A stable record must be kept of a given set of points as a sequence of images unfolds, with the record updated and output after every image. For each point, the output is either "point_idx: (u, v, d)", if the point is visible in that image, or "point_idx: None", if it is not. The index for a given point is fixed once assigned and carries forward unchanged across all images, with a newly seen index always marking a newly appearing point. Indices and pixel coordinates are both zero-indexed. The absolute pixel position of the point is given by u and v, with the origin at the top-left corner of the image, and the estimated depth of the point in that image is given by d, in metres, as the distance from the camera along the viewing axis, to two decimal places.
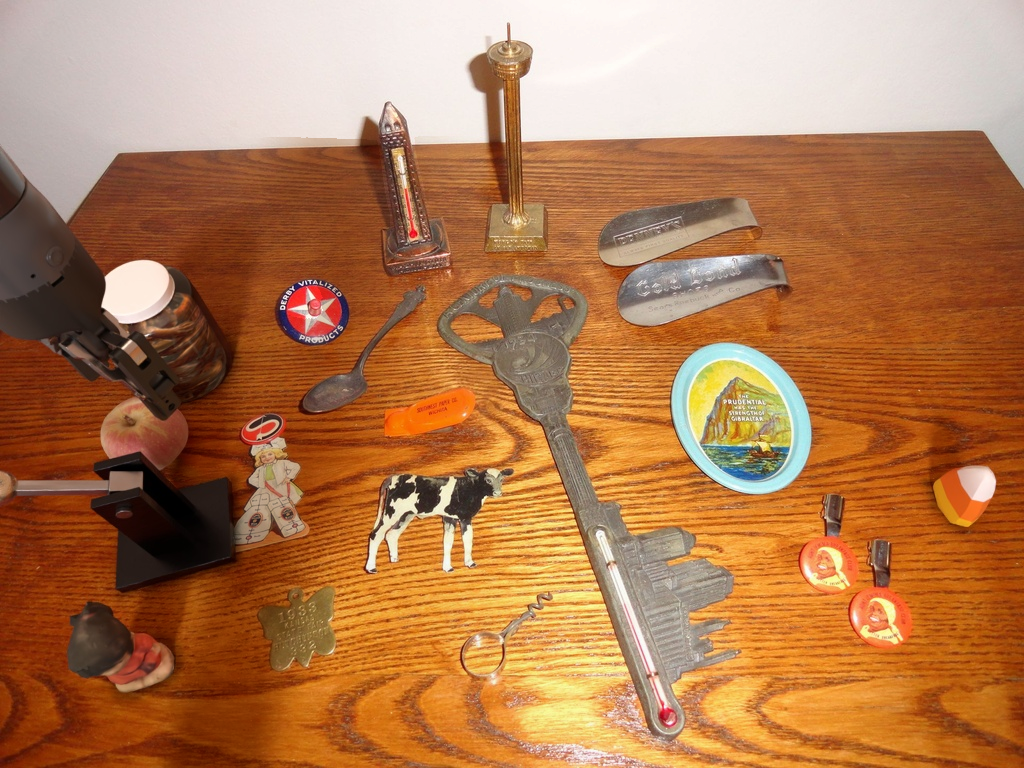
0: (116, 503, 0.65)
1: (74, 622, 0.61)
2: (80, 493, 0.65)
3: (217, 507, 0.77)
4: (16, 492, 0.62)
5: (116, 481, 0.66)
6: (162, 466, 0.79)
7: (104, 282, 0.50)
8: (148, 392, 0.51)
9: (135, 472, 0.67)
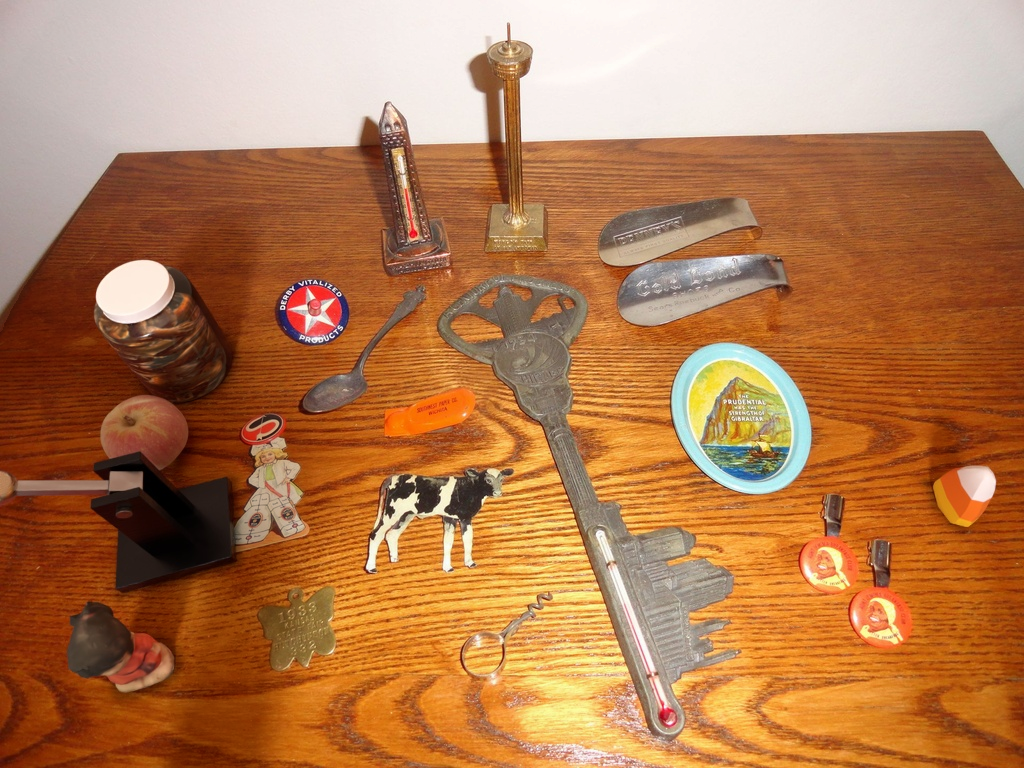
0: (116, 503, 0.65)
1: (74, 622, 0.61)
2: (80, 493, 0.65)
3: (217, 507, 0.77)
4: (16, 492, 0.62)
5: (116, 481, 0.66)
6: (162, 466, 0.79)
7: None
8: None
9: (135, 472, 0.67)
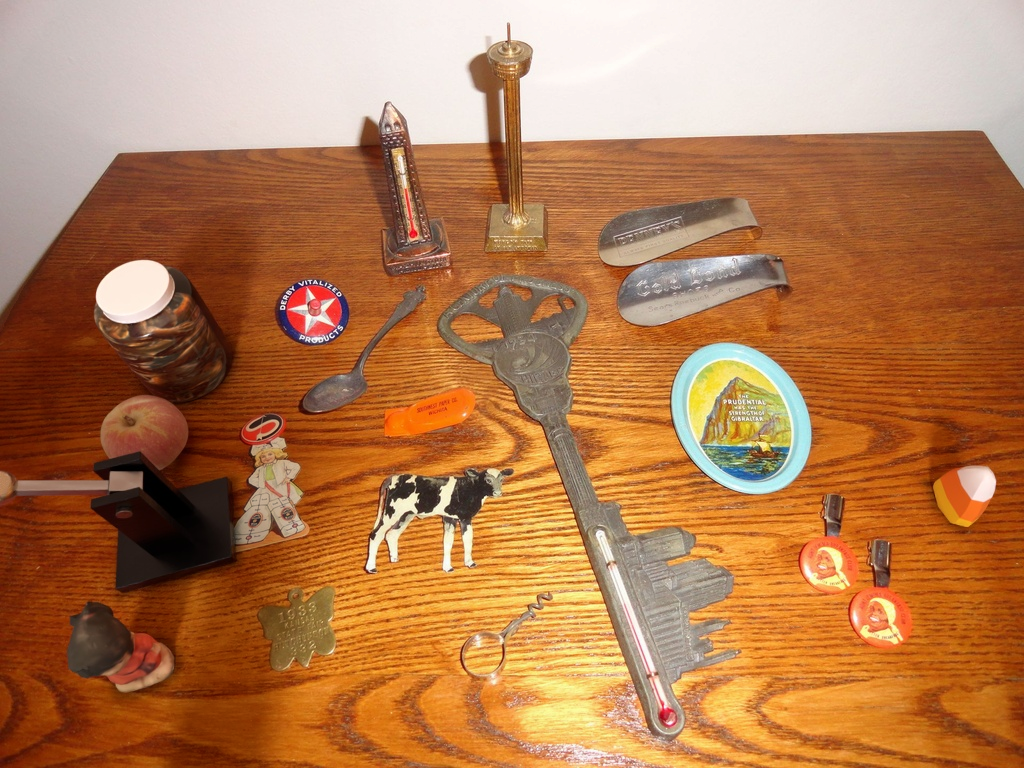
0: (116, 503, 0.65)
1: (74, 622, 0.61)
2: (80, 493, 0.65)
3: (217, 507, 0.77)
4: (16, 492, 0.62)
5: (116, 481, 0.66)
6: (162, 466, 0.79)
7: None
8: None
9: (135, 472, 0.67)
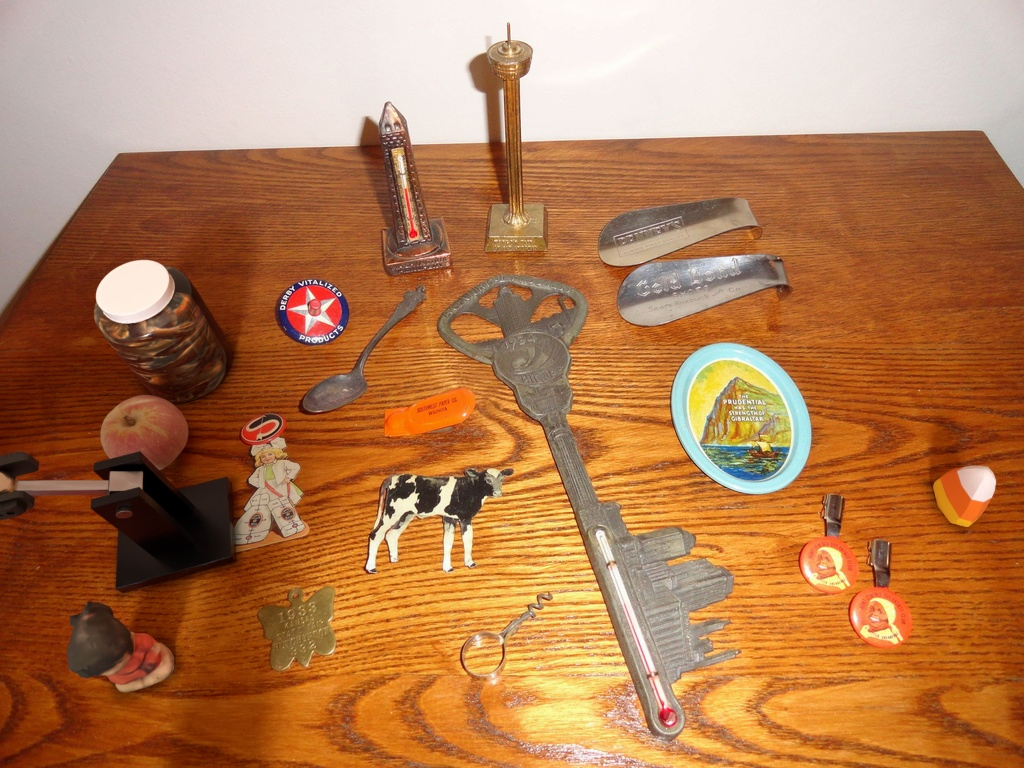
0: (116, 503, 0.65)
1: (74, 622, 0.61)
2: (80, 493, 0.65)
3: (217, 507, 0.77)
4: None
5: (116, 481, 0.66)
6: (162, 466, 0.79)
7: None
8: None
9: (135, 472, 0.67)
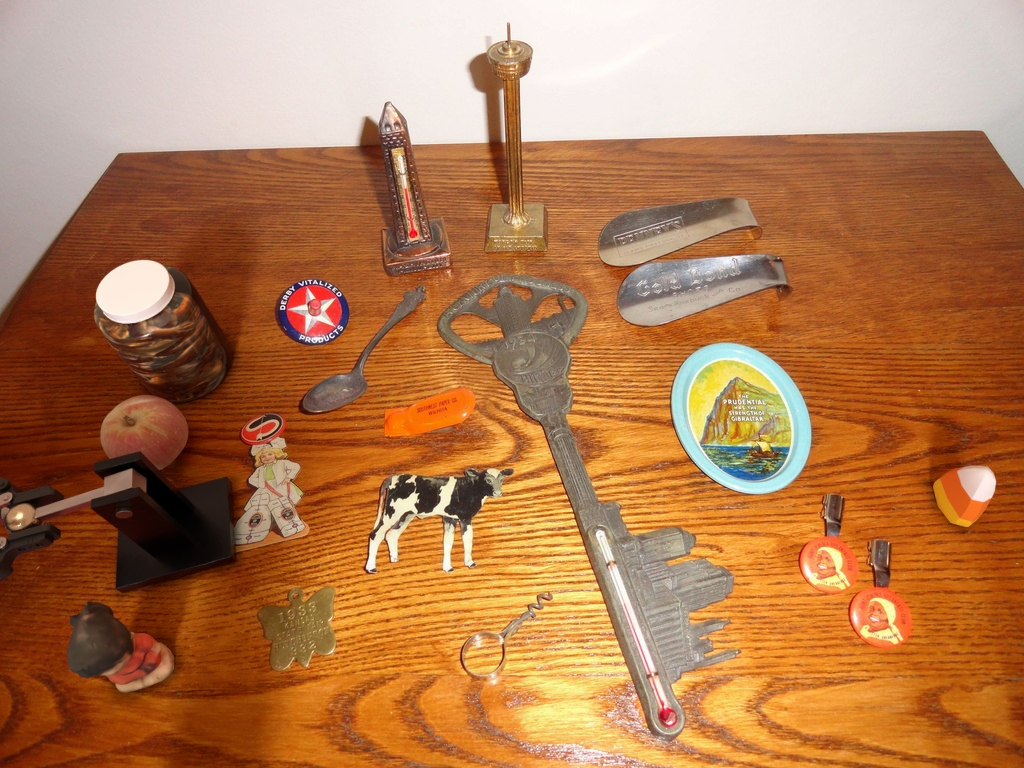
0: (116, 503, 0.65)
1: (74, 622, 0.61)
2: (89, 504, 0.67)
3: (217, 507, 0.77)
4: (36, 519, 0.66)
5: (109, 485, 0.66)
6: (162, 466, 0.79)
7: None
8: None
9: (125, 471, 0.67)
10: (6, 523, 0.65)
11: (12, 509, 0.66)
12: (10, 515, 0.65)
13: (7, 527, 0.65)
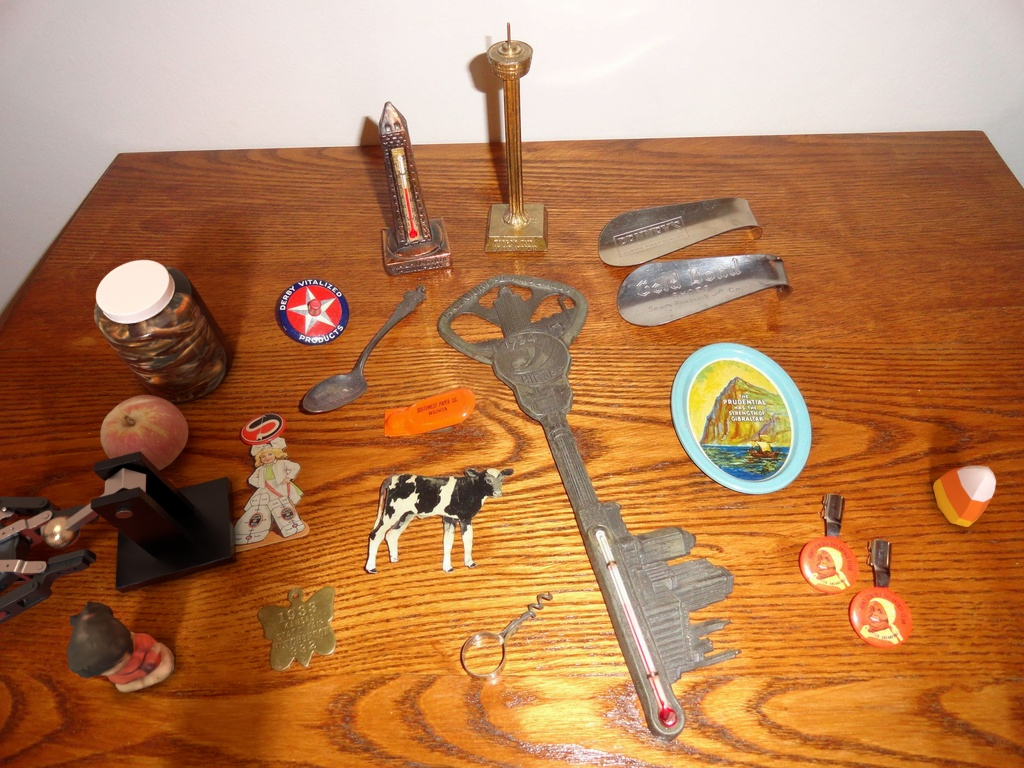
0: (116, 503, 0.65)
1: (74, 622, 0.61)
2: None
3: (217, 507, 0.77)
4: (67, 530, 0.69)
5: (108, 488, 0.66)
6: (162, 466, 0.79)
7: None
8: (33, 497, 0.73)
9: (118, 472, 0.66)
10: None
11: (46, 524, 0.69)
12: (44, 531, 0.69)
13: (46, 542, 0.69)
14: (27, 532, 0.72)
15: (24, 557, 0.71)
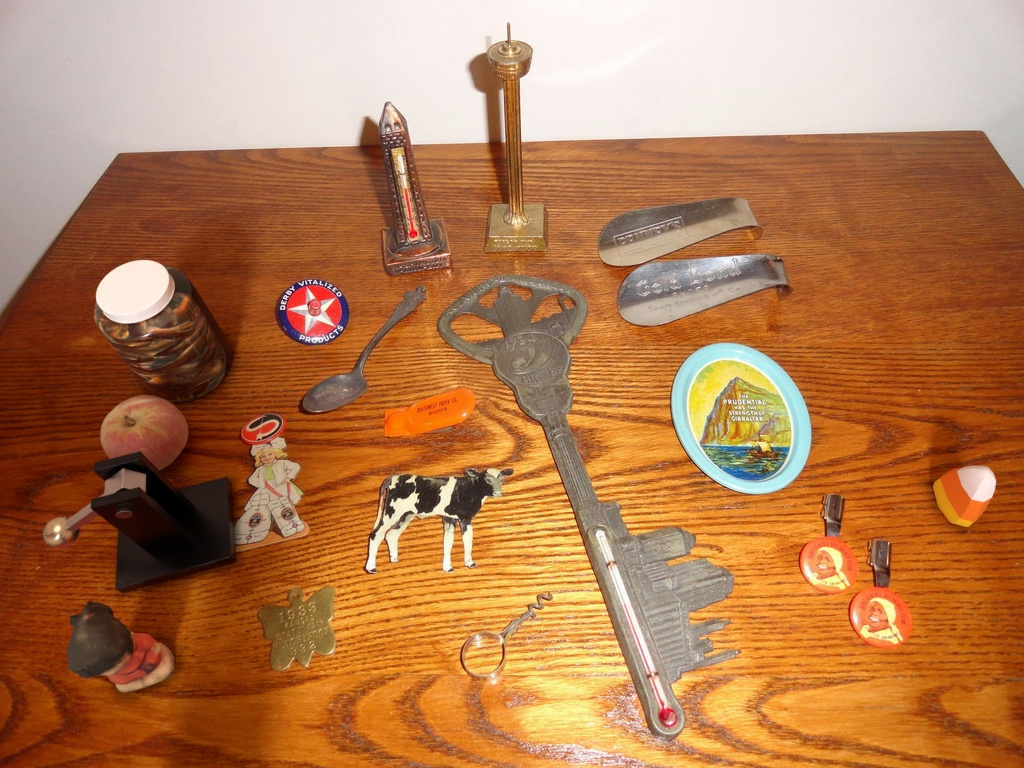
0: (116, 503, 0.65)
1: (74, 622, 0.61)
2: None
3: (217, 507, 0.77)
4: (67, 530, 0.69)
5: (108, 488, 0.66)
6: (162, 466, 0.79)
7: None
8: None
9: (118, 472, 0.66)
10: None
11: (46, 524, 0.69)
12: (44, 531, 0.69)
13: (46, 542, 0.69)
14: None
15: None
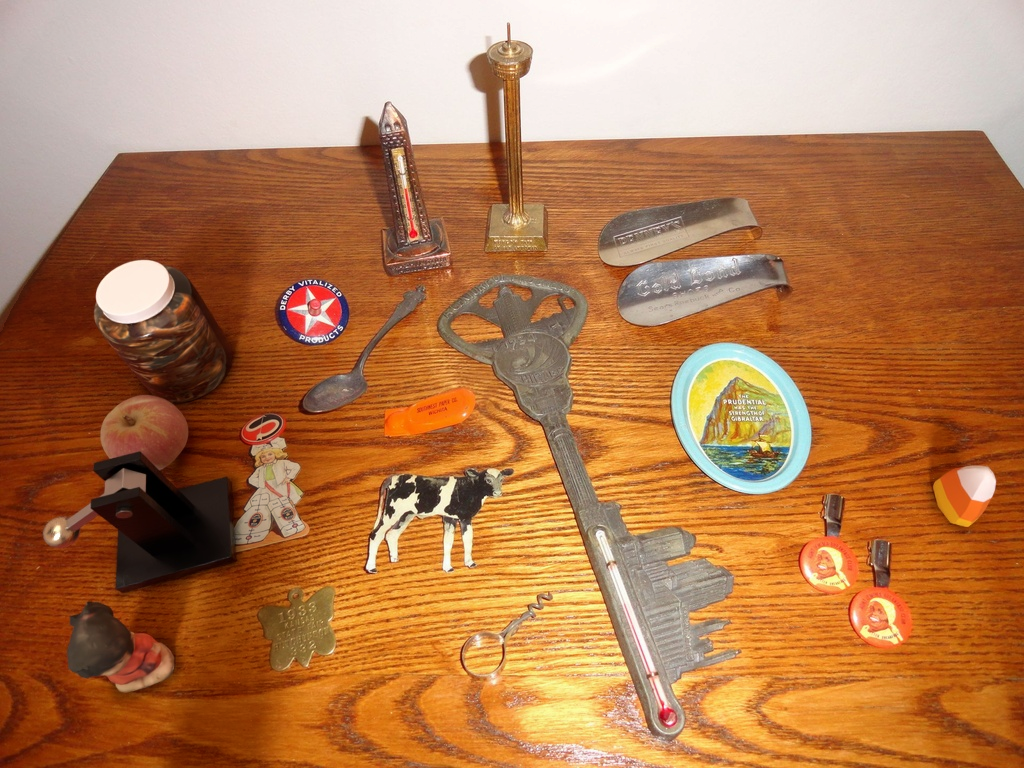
0: (116, 503, 0.65)
1: (74, 622, 0.61)
2: None
3: (217, 507, 0.77)
4: (67, 530, 0.69)
5: (108, 488, 0.66)
6: (162, 466, 0.79)
7: None
8: None
9: (118, 472, 0.66)
10: None
11: (46, 524, 0.69)
12: (44, 531, 0.69)
13: (46, 542, 0.69)
14: None
15: None
